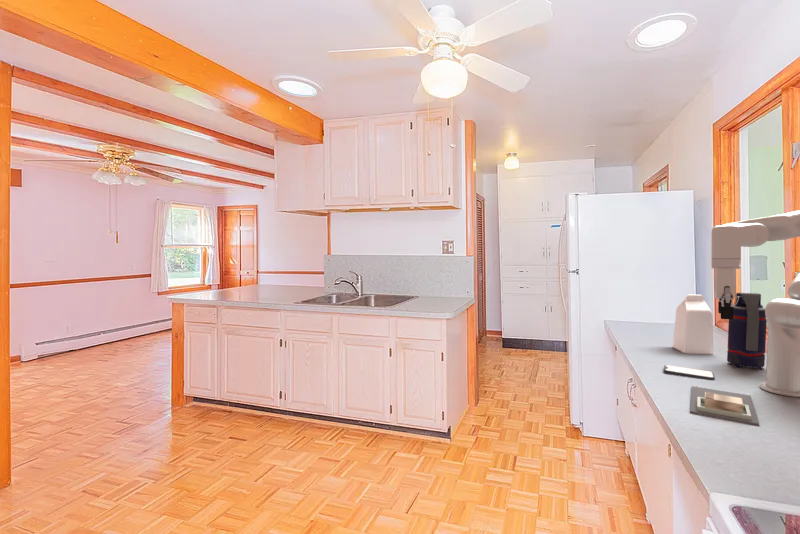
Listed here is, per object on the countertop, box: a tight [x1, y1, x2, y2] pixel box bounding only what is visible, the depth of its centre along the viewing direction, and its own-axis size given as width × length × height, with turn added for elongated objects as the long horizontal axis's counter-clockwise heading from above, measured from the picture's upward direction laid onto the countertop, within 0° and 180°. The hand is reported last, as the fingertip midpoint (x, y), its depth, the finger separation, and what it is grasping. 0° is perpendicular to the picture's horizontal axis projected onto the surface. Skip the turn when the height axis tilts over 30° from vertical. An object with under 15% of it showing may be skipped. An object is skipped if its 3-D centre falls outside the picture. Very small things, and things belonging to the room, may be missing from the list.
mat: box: [689, 385, 760, 427], centre depth 134 cm, size 26×16×1 cm, turn 145°
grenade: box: [726, 292, 767, 371], centre depth 173 cm, size 14×12×30 cm
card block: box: [705, 392, 743, 414], centre depth 129 cm, size 9×6×4 cm, turn 55°
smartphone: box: [663, 364, 716, 381], centre depth 165 cm, size 9×2×16 cm
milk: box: [672, 294, 715, 355], centre depth 198 cm, size 12×12×26 cm
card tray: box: [697, 397, 751, 420], centre depth 129 cm, size 13×10×1 cm
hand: (725, 316), depth 139 cm, fingers open, 9 cm apart
